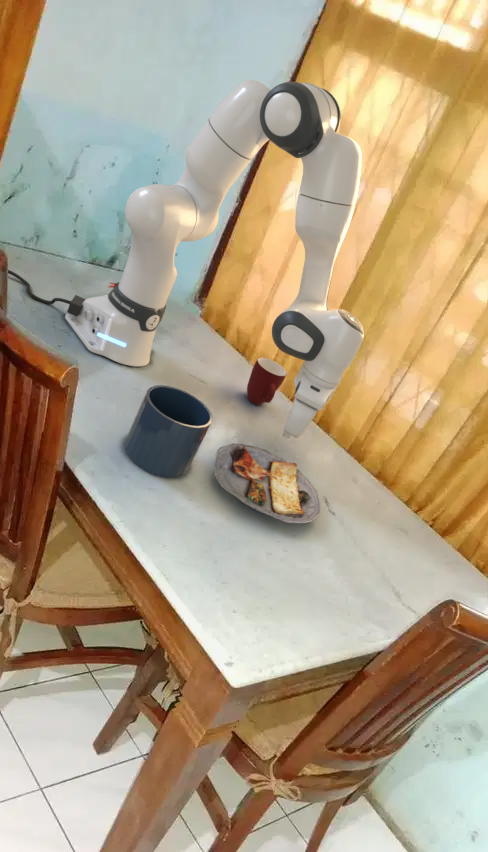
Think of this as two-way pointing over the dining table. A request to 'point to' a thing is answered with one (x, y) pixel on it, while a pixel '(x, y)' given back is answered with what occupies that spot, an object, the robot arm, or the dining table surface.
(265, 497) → the food plate
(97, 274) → the dining table surface
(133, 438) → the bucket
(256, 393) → the mug
